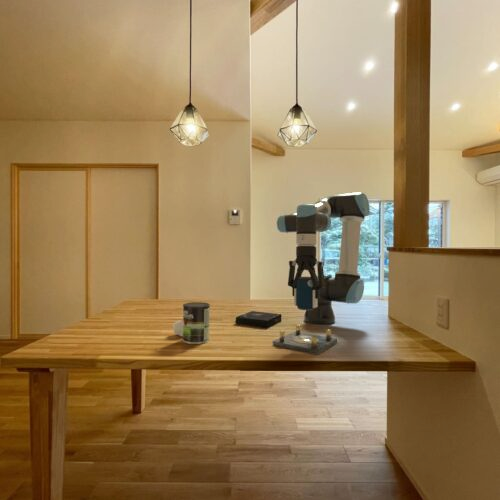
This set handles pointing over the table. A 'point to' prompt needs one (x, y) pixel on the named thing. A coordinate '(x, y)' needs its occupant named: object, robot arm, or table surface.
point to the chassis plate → (305, 341)
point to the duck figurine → (178, 327)
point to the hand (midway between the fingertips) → (305, 306)
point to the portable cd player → (258, 319)
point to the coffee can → (196, 323)
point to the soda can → (305, 293)
